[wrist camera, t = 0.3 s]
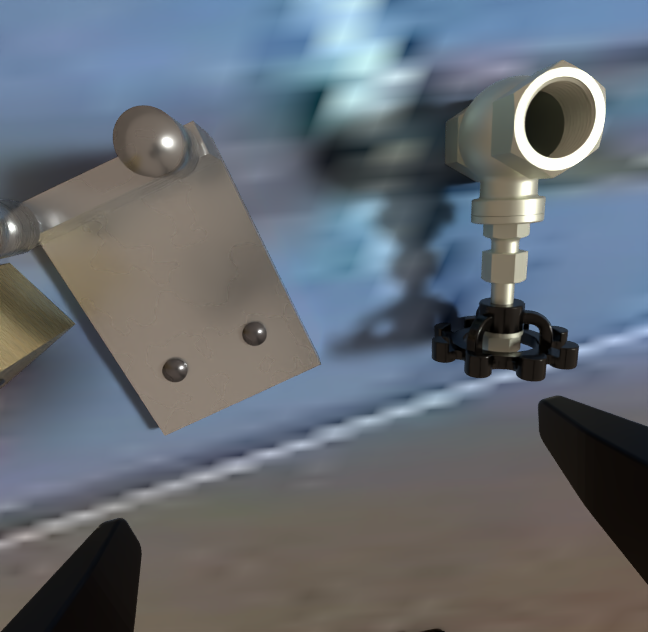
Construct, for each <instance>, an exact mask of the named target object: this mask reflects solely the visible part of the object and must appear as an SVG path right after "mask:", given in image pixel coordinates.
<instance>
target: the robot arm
mask: <svg viewBox="0 0 648 632" xmlns="http://www.w3.org/2000/svg"><path fill="white" fill-rule="evenodd" d="M538 416H539V432H540V436H541V438H542V440H543V442H544V444H545V445H546V447H547V448H548V450H549V452H550V453H551V455H552V456H553V458H554V459H555V461H556V462H557V464H558V465H559V467H560V469H561V470H562V472H563V473H564V475H565V476H566V478H567V479H568V481H569V482H570V484H571V486H572V487H573V489H574V490H575V492H576V493H577V495H578V496H579V498H580V499H581V501H582V502H583V504H584V505H585V506H586V508H587V509H588V510H589V512H590V513H591V514H592V516H593V517H594V518H595V519H596V521H597V522H598V523H599V524H600V526H601V527H602V528H603V529H604V531H605V532H606V533H607V534H608V536H609V537H610V538H611V539H612V541H613V542H614V543H615V544H616V546H617V547H618V548H619V549H620V551H621V552H622V553H623V554H624V556H625V557H626V558H627V559H628V561H629V562H630V563H631V564H632V566H633V567H634V568H635V569H636V571H637V572H638V573H639V574H640V576H641V577H642V578H643V579H644V581H645V582H646V583H647V584H648V427H647V426H645V425H642V424H639V423H636V422H633V421H630V420H628V419H625V418H622V417H619V416H616V415H613V414H611V413H608V412H605V411H602V410H599V409H596V408H594V407H591V406H588V405H585V404H582V403H580V402H577V401H574V400H571V399H568V398H565V397H562V396H553V397H549V398H546V399H542V400H541V401H540V402H539V404H538ZM141 555H142V553H141V546H140V543H139V541H138V540H137V538H136V536H135V535H134V533H133V531H132V530H131V528H130V526H129V524H128V523H127V521H126V520H125V519H123V518H117V519H113V520H110V521H106V522H104V523H102V524H101V525H99V526H98V528H97V529H96V530H95V531H94V532H93V533H92V534H91V535H90V536H89V537H88V538H87V539H86V540H85V542H84V543H83V544H82V545H81V546H80V547H79V548H78V549H77V550H76V551H75V552H74V553H73V554H72V556H71V557H70V558H69V559H68V560H67V561H66V562H65V563H64V564H63V565H62V566H61V567H60V569H59V570H58V571H57V572H56V573H55V574H54V575H53V576H52V577H51V578H50V579H49V580H48V581H47V583H46V584H45V585H44V586H43V587H42V588H41V589H40V590H39V591H38V592H37V593H36V594H35V595H34V597H33V598H32V599H31V600H30V601H29V602H28V603H27V604H26V605H25V606H24V607H23V608H22V609H21V611H20V612H19V613H18V614H17V615H16V616H15V617H14V618H13V619H12V620H11V621H10V622H9V623H8V625H7V626H6V627H5V628H4V629H3V630H2V631H1V632H134V624H135V615H136V605H137V595H138V586H139V576H140V566H141ZM438 632H445V631H438Z"/></svg>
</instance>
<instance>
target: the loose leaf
mask: <svg viewBox="0 0 648 632" xmlns="http://www.w3.org/2000/svg"><path fill="white" fill-rule="evenodd" d="M74 325H75V323H74V322H73V321H72V320H71V319H69V318H68V317H67V316H66V315H65V314H64V313H63V312H62V311H61V310H60V309H59V308H58V307H57V306H55V305H54V304H53V303H52V302H51V301H50V300H49V299H48V298H47V297H46V296H45V295H44V294H42V293H41V292H40V291H39V290H38V289H37V288H36V287H35V286H34V285H33V284H32V283H31V282H30V281H28V280H27V279H26V278H25V277H24V276H23V275H22V274H21V273H20V272H19V271H18V270H17V269H16V268H14V267H13V266H12V265H11V264H10V263H8V264H4V265H0V389H1V388H2V387H4V386H5V385H6V384H7V383H8V382H10V381H11V380H12V379H13V378H14V377H15V376H16V375H18V374H19V373H20V372H21V371H22V370H23V369H24V368H26V367H27V366H28V365H29V364H30V363H31V362H33V361H34V360H35V359H36V358H37V357H38V356H39V355H41V354H42V353H43V352H44V351H45V350H46V349H47V348H49V347H50V346H51V345H52V344H53V343H54V342H55V341H57V340H58V339H59V338H60V337H61V336H62V335H63V334H65V333H66V332H67V331H68V330H69V329H70V328H71V327H73V326H74Z"/></svg>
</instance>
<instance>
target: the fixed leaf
mask: <svg viewBox="0 0 648 632" xmlns="http://www.w3.org/2000/svg"><path fill="white" fill-rule="evenodd" d="M113 144H114V148H115V151H116V153H117V155H118V157H116V158H114V159H112V160H110V161H108V162H106V163H104V164H102V165H99V166H97V167H95V168H93V169H91V170H89V171H87V172H85V173H83V174H81V175H78V176H76V177H74V178H72V179H70V180H68V181H66V182H64V183H62V184H59V185H57V186H55V187H53V188H51V189H49V190H47V191H45V192H43V193H41V194H38V195H36V196H34V197H32V198H30V199H28V200H26V201H24V202H22V203H19V202H17V201H13V200H0V259H2V258H7V257H11V256H15V255H19V254H24V253H26V252H28V251H30V250H32V249H33V248H34V247H36V246H40V245H42V247H43V249H44V250H45V252H46V253H47V255H48V256H49V258H50V259H51V261H52V262H53V264H54V265H55V267H56V269H57V270H58V272H59V273H60V275H61V276H62V278H63V279H64V281H65V282H66V284H67V286H68V287H69V289H70V290H71V292H72V293H73V295H74V296H75V298H76V299H77V301H78V302H79V304H80V306H81V307H82V309H83V310H84V312H85V313H86V315H87V316H88V318H89V319H90V321H91V323H92V324H93V326H94V327H95V329H96V330H97V332H98V333H99V335H100V336H101V338H102V339H103V341H104V343H105V344H106V346H107V347H108V349H109V350H110V352H111V353H112V355H113V356H114V358H115V360H116V361H117V363H118V364H119V366H120V367H121V369H122V370H123V372H124V373H125V375H126V377H127V378H128V380H129V381H130V383H131V384H132V386H133V387H134V389H135V390H136V392H137V393H138V395H139V397H140V398H141V400H142V401H143V403H144V404H145V406H146V407H147V409H148V410H149V412H150V414H151V415H152V417H153V418H154V420H155V421H156V423H157V424H158V426H159V427H160V429H161V430H162V432H163V434H164V435H167V434H170V433H172V432H174V431H176V430H178V429H181V428H183V427H185V426H187V425H189V424H191V423H194V422H196V421H198V420H200V419H202V418H205V417H207V416H209V415H211V414H213V413H216V412H218V411H220V410H222V409H224V408H227V407H229V406H231V405H233V404H235V403H237V402H240V401H242V400H244V399H246V398H248V397H251V396H253V395H255V394H257V393H259V392H262V391H264V390H266V389H268V388H270V387H272V386H275V385H277V384H279V383H281V382H283V381H286V380H288V379H290V378H292V377H294V376H297V375H299V374H301V373H303V372H305V371H307V370H310V369H312V368H314V367H316V366H318V365H321V362H320V358H319V356H318V354H317V352H316V350H315V347H314V345H313V343H312V341H311V339H310V337H309V335H308V333H307V331H306V329H305V327H304V325H303V323H302V321H301V319H300V317H299V315H298V313H297V311H296V309H295V306H294V304H293V302H292V300H291V298H290V296H289V294H288V292H287V290H286V288H285V286H284V284H283V282H282V280H281V278H280V276H279V274H278V272H277V270H276V267H275V265H274V263H273V261H272V259H271V257H270V255H269V253H268V251H267V249H266V247H265V245H264V243H263V241H262V239H261V237H260V235H259V233H258V231H257V229H256V226H255V224H254V222H253V220H252V218H251V216H250V214H249V212H248V210H247V208H246V206H245V204H244V202H243V200H242V198H241V196H240V194H239V192H238V190H237V187H236V185H235V183H234V181H233V179H232V177H231V175H230V173H229V171H228V169H227V167H226V165H225V163H224V161H223V159H222V157H221V155H220V153H219V151H218V149H217V146H216V144H215V142H214V140H213V139H212V138H211V137H210V136H209V134H208V133H207V132H206V131H204V130H203V129H202V128H201V127H200V126H198V125H197V124H196V123H195V122H194V121H192V122H190V123H188V124H186V125H184V126H183V125H182V124H180V123H179V122H177V121H176V120H175V119H173V118H172V117H170V116H169V115H168V114H166V113H165V112H163V111H162V110H160V109H158V108H155V107H152V106H136V107H132V108H130V109H128V110H126V111H125V112H124V113H123V114H122V115H121V116H120V117H119V118H118V120H117V122H116V124H115V127H114V130H113Z"/></svg>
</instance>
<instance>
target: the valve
mask: <svg viewBox="0 0 648 632" xmlns="http://www.w3.org/2000/svg"><path fill="white" fill-rule="evenodd" d="M605 108H606V94H605V88H604V87H603V86H602V85H601V84H600V83H599V82H598V81H596V80H595V79H594V78H592V77H591V76H590V75H588V74H587V73H586V72H584V71H582V70H581V69H579V68H577V67H576V66H574V65H572V64H570V63H568V62H566V61H564V60H561V61H559V62H557V63H555V64H552V65H550V66H548V67H546V68H544V69H542V70H540V71H538V72H536V73H534V74H533V75H532V76H525V75H522V76H513V77H509V78H505V79H503V80H500V81H497V82H495V83H494V84H492V85H490V86H489V87H487V88H486V89H484V90H483V91H482V92H481V93H480V94H479V95H477V96H476V98H475V99H474V100H473V101H472V103H471V104H470V105H469V106H468V107H467V108H465V109H464V110H462V111H461V112H460V113H458V114H457V115H455V116H454V117H452V118H451V119H449V120H448V121H447V122H446V127H445V164H446V165H448V166H449V167H451V168H453V169H455V170H456V171H458V172H460V173H462V174H463V175H465V176H467V177H468V178H470V179H472V180H474V181H476V182H480V197H479V198H478V199H474V200H472V208H471V222H472V223H475V224H483V236H485V237H487V238H490V239H491V250H486V251H482V272H481V278H482V279H483V280H484V281H486V282H489V283H491V298H485V299H482V300H481V301H480V302H479V307H478V309H477V312H476V316H467V317H465V318H464V329H461V330H458V331H456V332H452V331H451V324H450V323H439V324H436V325H435V326H434V338H433V339H432V359H433V360H435V361H437V362H442V363H448V362H452V361H454V360H455V359H459V360H464V361H465V365H464V371H465V373H466V374H467V375H468V376H471V377H475V378H485V377H488V376H490V375H491V373H492V369H509V370H513V371H516V375H517V376H518V377H519V378H521V379H523V380H526V381H541V380H543V379H544V378H545V375H546V364H549V365H551V366H552V367H555V368H558V369H573V368H575V367H576V366H577V360H578V351H579V346H578V344H576V343H574V342H571V341H567V337H568V330H567V329H566V328H563V327H559V326H551V324H550V322H549V321H548V319H547V318H546V317H545V316H543V315H542V314H540V313H538V312H535V311H530V310H525V303H524V302H523V301H521V300H519V299H514V286H515V283H520V282H522V281H524V280H525V279H526V273H527V258H528V251H524V250H520V249H519V241H520V239H521V238H523V237H526V236H528V235H529V230H530V223H535V222H541V221H543V220H544V212H545V200H546V198H545V197H544V196H539V195H538V194H537V191H538V179H544V178H554V177H555V176H557V175H559V174H561V173H562V172H564V171H566V170H567V169H569V168H570V167H572V166H574V165H575V164H577V163H578V162H580V161H581V160H583V159H584V158H585V157H587V156H588V155H590V154H591V153H592V152H594V151H595V150H596V149H597V148H599V145H600V141H601V137H602V133H603V127H604V120H605ZM529 324H533V325H535V326H537V327H538V328H539V330H540V333H538V332H535V331H532V330H529ZM520 343H522V344H525V345H528V346H530V347H532V348H533V349H530V350H527V351H520V352H517V351H518V350H520Z"/></svg>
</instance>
